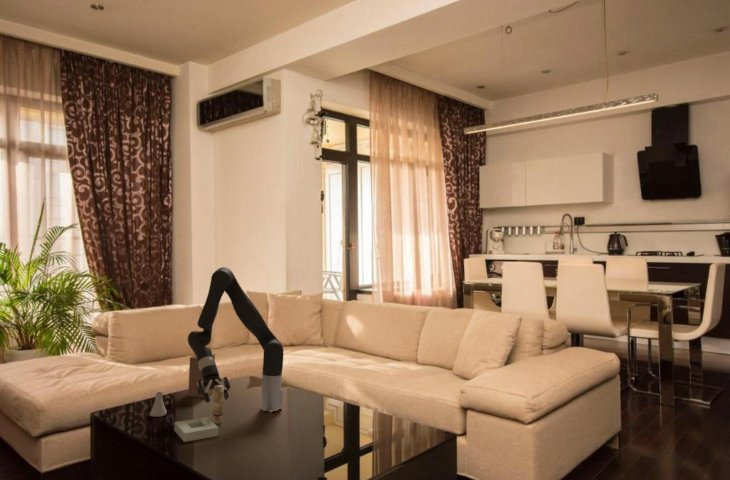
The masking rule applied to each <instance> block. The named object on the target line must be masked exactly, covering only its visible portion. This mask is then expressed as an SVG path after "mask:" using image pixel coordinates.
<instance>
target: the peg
mask: <svg viewBox="0 0 730 480" xmlns="http://www.w3.org/2000/svg"><path fill="white" fill-rule="evenodd" d="M224 386H225V385H224ZM224 386H222V385H216V386H214V389H213V405H212V406H213V409H212V416H213V421H212V422H213V423H214V424H215V425H217V424H219V425H220V424H221V423H222V415H223V414H224V412H223V410H224V409H223V406H224V395H223V390H224Z"/></svg>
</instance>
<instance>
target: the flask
mask: <svg viewBox="0 0 730 480" xmlns="http://www.w3.org/2000/svg"><path fill="white" fill-rule="evenodd" d="M163 394H164V392H163V391H157V392H155V399H154V402H153V406H152V408H151V411H150V412H149V416H150V417H153V418H155V417H156V418H157V417H158V418H159V417H160V418H161V417H164V416H166V415H167V413H168V411H167V409H166V407H165V403H164V401H163V400H164V399H163Z"/></svg>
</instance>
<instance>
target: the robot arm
mask: <svg viewBox="0 0 730 480" xmlns="http://www.w3.org/2000/svg"><path fill="white" fill-rule="evenodd" d="M210 279H211V280H210V283H209V284H210V285H209V289H208V293H207V295H206V296H207V297H206V299H205V301H204V305H203V307H202V308H201V309H202V310H201V312H200V314H199V317H198V320H197V326H198V327H199V328H200V329H202V331H200V330H199V331H198V330H192V331H190V333H188V336H187V343H188V345H189V347H190V348H191V350H192V352H193V353H194V355H196V357H197V360H198V364H199V370H200V373H201V376H202V380H203V381H200V380H199V381H198V382H197V389H198V394H199V395H203V396H204V398H203V399H204V401H205V402H206V403H207V404H209V403H210V401H211V399H210V396H209V395H208V393H207V392H208V390H209V389H210V390H212V389H213V390H214V386H216V385H222V386H224V390H223V399H224V400H225V401H227V400H228V398H229V397H230V395H229V391H230V389H231V385H230V381H229V379H228V377H227V376H224V377H222V378H221V377H220V373H219V369H218V367H217V363H216V359H215V360H214V358H213V355H212V354H213V353H212V350H211V348H210V347H208V345H209V344H210V343H211V341H212V332H213V325H214V322H215V321H216V318H217V315H218V311H219V306H220V302H221V300H222V297H223V295H224V293H226V295H227V296H228V298H229V300H230V302H231V305H232V308H233V310H234V313H235V314H236V317H238V319H239V320H240V322H241V324H242V325H243V326H244V327H245V328H246V330H248V331H249V332H250V333H251V334H252V335H253V336H254V337H255V338H256V339H257V342H259V344H260V346H261V347H262V350H263V357H262V359H263V361H262V376H261V377H262V378H261V381H262V382H261V399H260V400H261V401H260V410H261V409H262V410H266V411H270V410H275V409H278V408H280V407H282V408H283V397H284V396H283V395H284V390H283V389H282V385H283V383H282V378H283V365H284V346H283V344H282V342H281V341H280V340H279V339H278V338H277V337H276V336H275V335H274V333H273V332H272V331H271V330H270V329H269V327H268V325H267V323H266V321H265V320H264V318H263V316H262V314H261V313H260V311H259V310H258V309H257V307H256V306H255V304H254V303H253V302H252V300H251V299H250V298H249V296H248V295H247V294H246V292H245V291H244V290H243V289H242V287H241V285H240V284H239V282H238V280H237V278H236V276H235V274H234V272H233V271H232V270H231V269H229V268H228V267H225V266H224V267H222V266H221V267H219V268H217V270H216V271H214V272H213V273H212V274H211V277H210ZM202 385H204V386H206V388H205V391H203V389H202ZM262 410H261V411H262Z"/></svg>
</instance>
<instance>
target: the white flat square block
mask: <svg viewBox="0 0 730 480" xmlns="http://www.w3.org/2000/svg"><path fill="white" fill-rule="evenodd" d="M173 428H174V429H173V430H174V432H175V433H176V434H177V436H178V437H179V438H180V440H182V441H183V443H186V442H191V441H196V440H197V441H198V440H203V439H208V438H213V437H219V429H220V427H219V426H218V425H217V424H215V423H213V421H212V420H211V419H210V418H209V417H208V416H205V417H198V418H192V419H185V420H180V421H174V427H173Z"/></svg>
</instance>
